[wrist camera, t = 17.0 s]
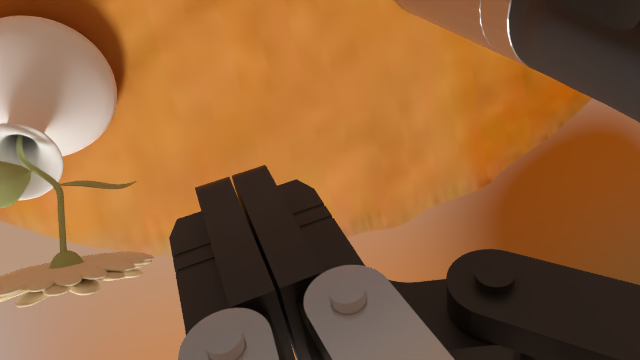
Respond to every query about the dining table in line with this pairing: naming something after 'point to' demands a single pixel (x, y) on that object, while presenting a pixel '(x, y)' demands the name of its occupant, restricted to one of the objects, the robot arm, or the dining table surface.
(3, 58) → the flower in vase
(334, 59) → the dining table surface
